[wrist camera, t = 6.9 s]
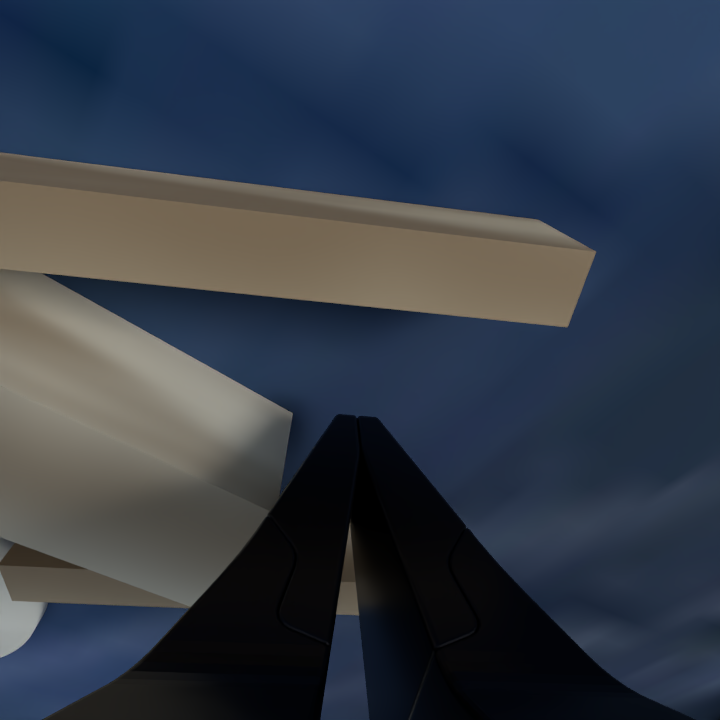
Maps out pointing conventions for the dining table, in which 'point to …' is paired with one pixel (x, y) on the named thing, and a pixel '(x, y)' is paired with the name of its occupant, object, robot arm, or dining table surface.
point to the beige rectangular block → (126, 445)
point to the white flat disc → (16, 614)
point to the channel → (267, 276)
